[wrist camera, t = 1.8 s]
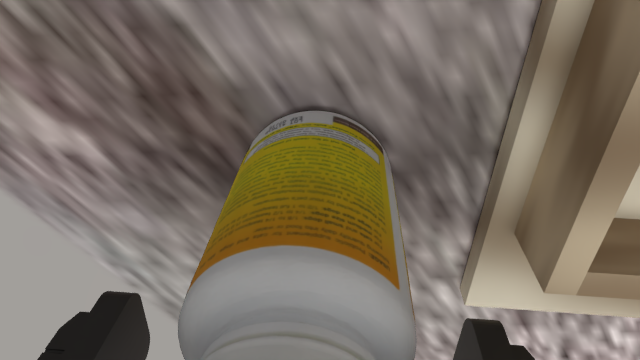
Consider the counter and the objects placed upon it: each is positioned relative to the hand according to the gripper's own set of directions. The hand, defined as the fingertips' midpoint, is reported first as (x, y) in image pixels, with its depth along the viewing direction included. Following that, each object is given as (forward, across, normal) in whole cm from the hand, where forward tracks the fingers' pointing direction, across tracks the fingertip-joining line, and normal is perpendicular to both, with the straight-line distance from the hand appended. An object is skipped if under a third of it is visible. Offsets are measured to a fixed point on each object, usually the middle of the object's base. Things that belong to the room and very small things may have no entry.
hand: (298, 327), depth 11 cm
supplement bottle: (+7, 0, 0) cm, 7 cm away
